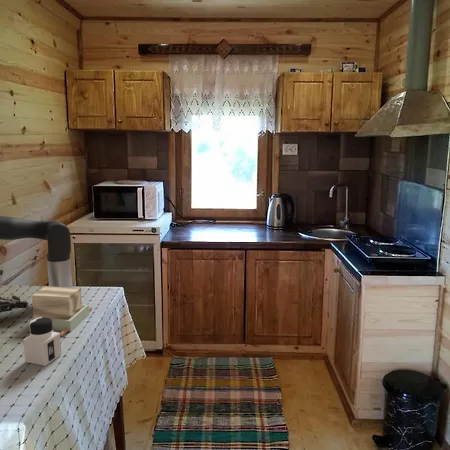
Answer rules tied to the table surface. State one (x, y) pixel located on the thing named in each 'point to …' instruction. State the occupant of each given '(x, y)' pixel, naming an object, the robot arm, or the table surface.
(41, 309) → the ash block
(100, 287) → the table surface
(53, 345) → the container
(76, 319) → the grey-green piece
